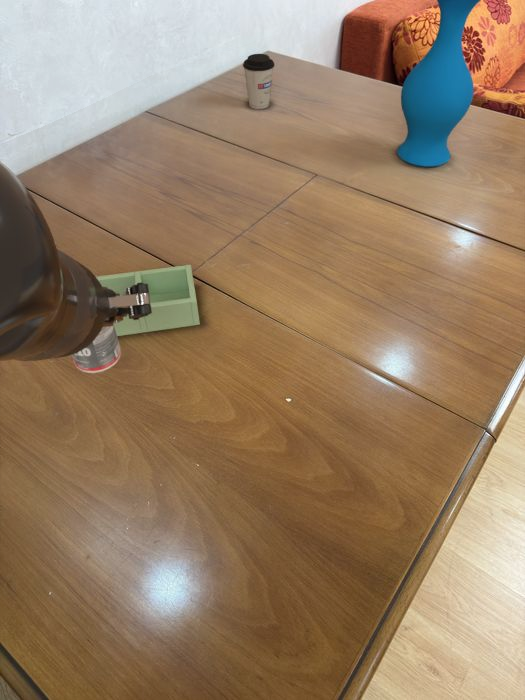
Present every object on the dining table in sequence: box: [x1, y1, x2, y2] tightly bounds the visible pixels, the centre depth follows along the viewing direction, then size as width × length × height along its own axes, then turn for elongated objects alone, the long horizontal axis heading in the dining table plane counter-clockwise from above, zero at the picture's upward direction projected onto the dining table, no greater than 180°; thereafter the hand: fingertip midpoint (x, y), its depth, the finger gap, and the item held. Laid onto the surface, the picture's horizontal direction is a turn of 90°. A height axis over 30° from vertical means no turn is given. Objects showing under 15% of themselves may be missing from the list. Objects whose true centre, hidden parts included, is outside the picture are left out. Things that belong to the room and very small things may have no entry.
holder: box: [95, 264, 201, 337], centre depth 74 cm, size 15×8×4 cm, turn 101°
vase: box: [396, 0, 481, 168], centre depth 95 cm, size 12×13×28 cm
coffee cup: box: [242, 53, 275, 110], centre depth 119 cm, size 7×7×10 cm
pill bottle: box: [70, 324, 122, 374], centre depth 51 cm, size 5×5×8 cm
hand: (88, 314), depth 52 cm, fingers closed on pill bottle, 4 cm apart
